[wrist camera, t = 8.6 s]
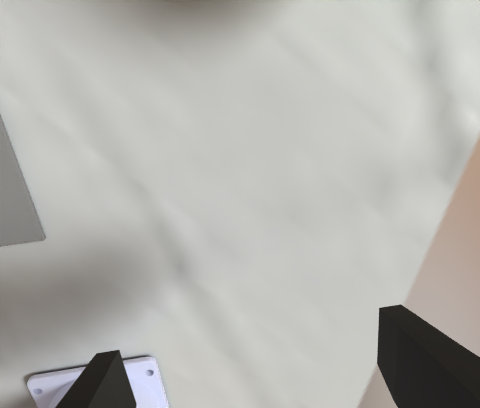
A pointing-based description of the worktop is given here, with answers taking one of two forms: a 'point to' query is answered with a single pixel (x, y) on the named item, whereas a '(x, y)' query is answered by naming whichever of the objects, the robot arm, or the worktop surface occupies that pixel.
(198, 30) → the worktop surface
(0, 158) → the mat
